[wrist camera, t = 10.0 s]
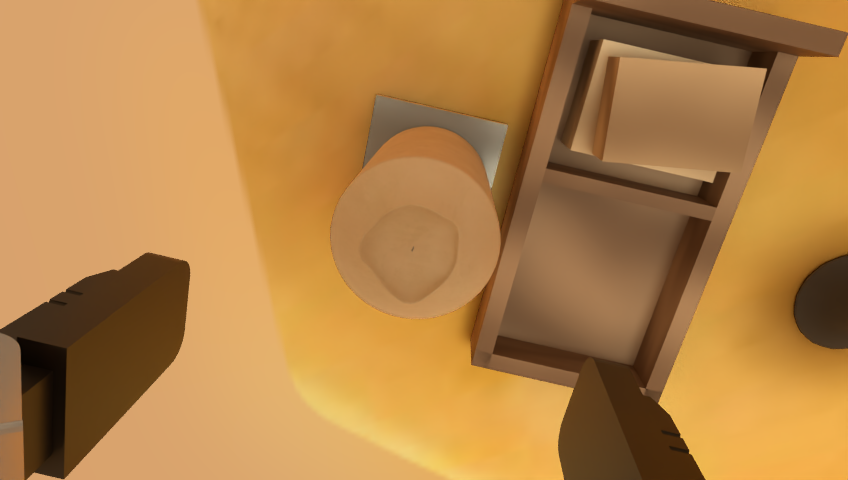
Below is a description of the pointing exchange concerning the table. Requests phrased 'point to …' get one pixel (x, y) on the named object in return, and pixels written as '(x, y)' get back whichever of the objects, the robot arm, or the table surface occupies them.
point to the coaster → (406, 115)
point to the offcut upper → (677, 114)
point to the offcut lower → (590, 92)
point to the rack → (622, 203)
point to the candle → (418, 226)
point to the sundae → (825, 305)
